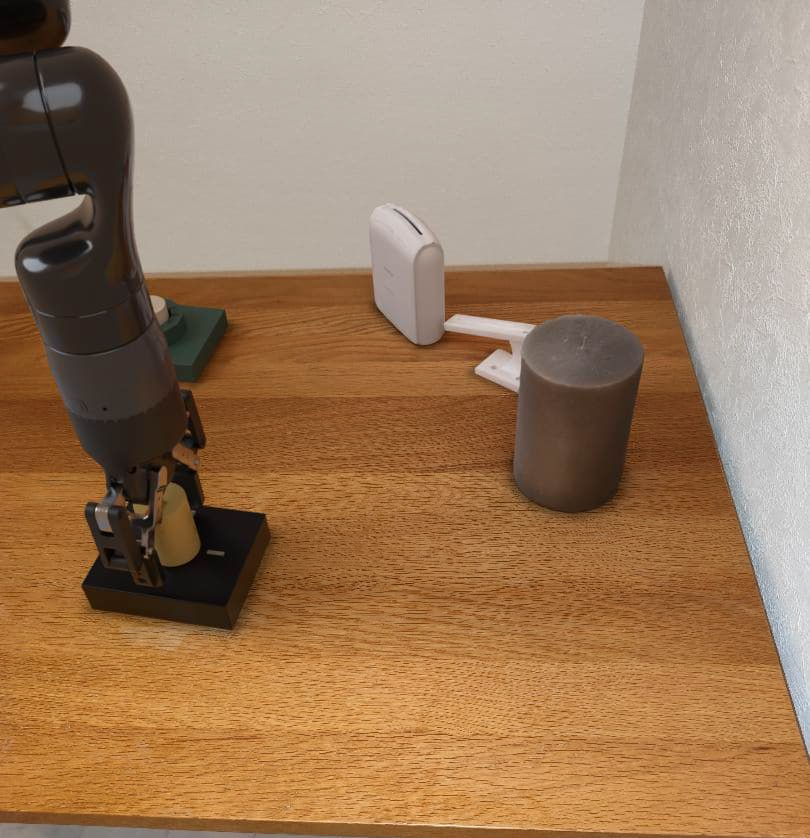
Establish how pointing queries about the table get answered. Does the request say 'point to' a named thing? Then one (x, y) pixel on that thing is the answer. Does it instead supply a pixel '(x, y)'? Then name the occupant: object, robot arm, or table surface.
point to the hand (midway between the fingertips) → (173, 541)
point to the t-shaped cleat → (499, 363)
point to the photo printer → (408, 273)
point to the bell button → (160, 309)
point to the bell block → (192, 337)
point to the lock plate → (191, 573)
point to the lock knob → (174, 528)
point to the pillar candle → (575, 410)
